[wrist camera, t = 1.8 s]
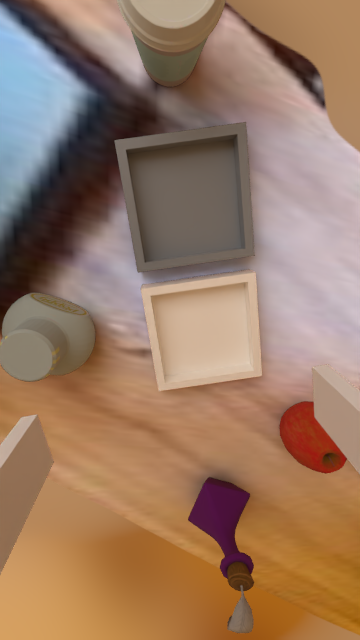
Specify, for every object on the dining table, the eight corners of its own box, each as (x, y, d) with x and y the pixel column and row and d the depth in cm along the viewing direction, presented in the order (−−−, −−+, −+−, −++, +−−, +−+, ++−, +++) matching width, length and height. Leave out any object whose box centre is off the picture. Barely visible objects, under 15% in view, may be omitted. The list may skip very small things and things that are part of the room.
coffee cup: (218, 21, 32) (249, -92, 21) (196, 112, 35) (212, 55, 23) (138, -9, 31) (124, -145, 20) (120, 86, 33) (98, 13, 22)
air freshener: (107, 313, 41) (90, 340, 31) (88, 366, 43) (66, 407, 33) (25, 282, 39) (-20, 301, 30) (8, 339, 41) (-38, 374, 32)
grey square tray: (139, 269, 39) (137, 272, 36) (118, 147, 35) (114, 140, 32) (248, 253, 39) (254, 255, 37) (239, 130, 35) (246, 122, 32)
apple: (295, 380, 45) (334, 425, 35) (336, 406, 47) (384, 457, 36) (260, 421, 47) (288, 475, 37) (301, 445, 48) (338, 504, 38)
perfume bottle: (202, 466, 49) (223, 597, 31) (245, 477, 50) (288, 609, 33) (186, 502, 51) (197, 644, 33) (228, 512, 52) (260, 654, 34)
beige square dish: (159, 380, 44) (158, 391, 41) (142, 284, 40) (140, 288, 37) (255, 366, 44) (262, 375, 41) (249, 269, 40) (255, 272, 37)
